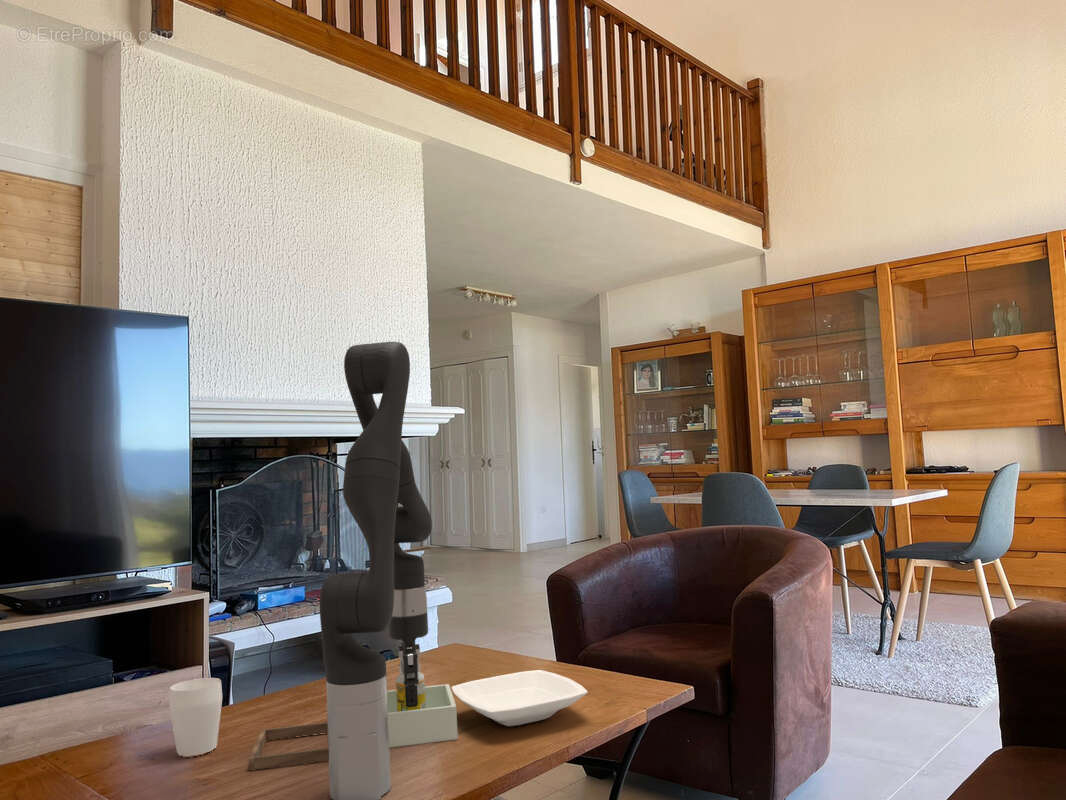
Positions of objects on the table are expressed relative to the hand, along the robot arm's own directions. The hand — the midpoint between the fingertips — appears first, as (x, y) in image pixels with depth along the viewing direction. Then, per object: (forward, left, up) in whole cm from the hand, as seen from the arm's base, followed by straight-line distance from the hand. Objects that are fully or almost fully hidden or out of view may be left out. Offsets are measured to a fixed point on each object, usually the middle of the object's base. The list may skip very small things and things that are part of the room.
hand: (411, 701), depth 149 cm
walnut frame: (-3, +20, -5) cm, 21 cm away
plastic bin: (0, 0, -5) cm, 5 cm away
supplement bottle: (0, 0, -3) cm, 3 cm away
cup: (+3, +39, -6) cm, 40 cm away
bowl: (0, -21, -6) cm, 21 cm away
